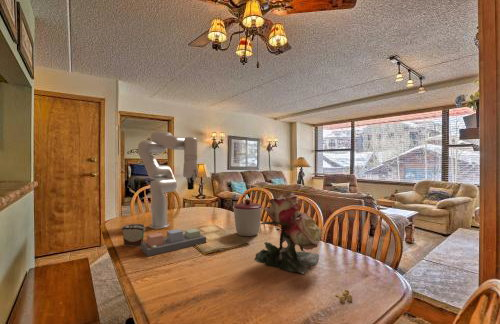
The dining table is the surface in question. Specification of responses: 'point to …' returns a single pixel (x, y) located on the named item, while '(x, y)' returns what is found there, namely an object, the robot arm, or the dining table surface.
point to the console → (171, 245)
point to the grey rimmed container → (133, 234)
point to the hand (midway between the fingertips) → (190, 189)
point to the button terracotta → (154, 239)
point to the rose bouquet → (290, 236)
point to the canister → (247, 218)
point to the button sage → (192, 233)
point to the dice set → (342, 298)
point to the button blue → (174, 235)
